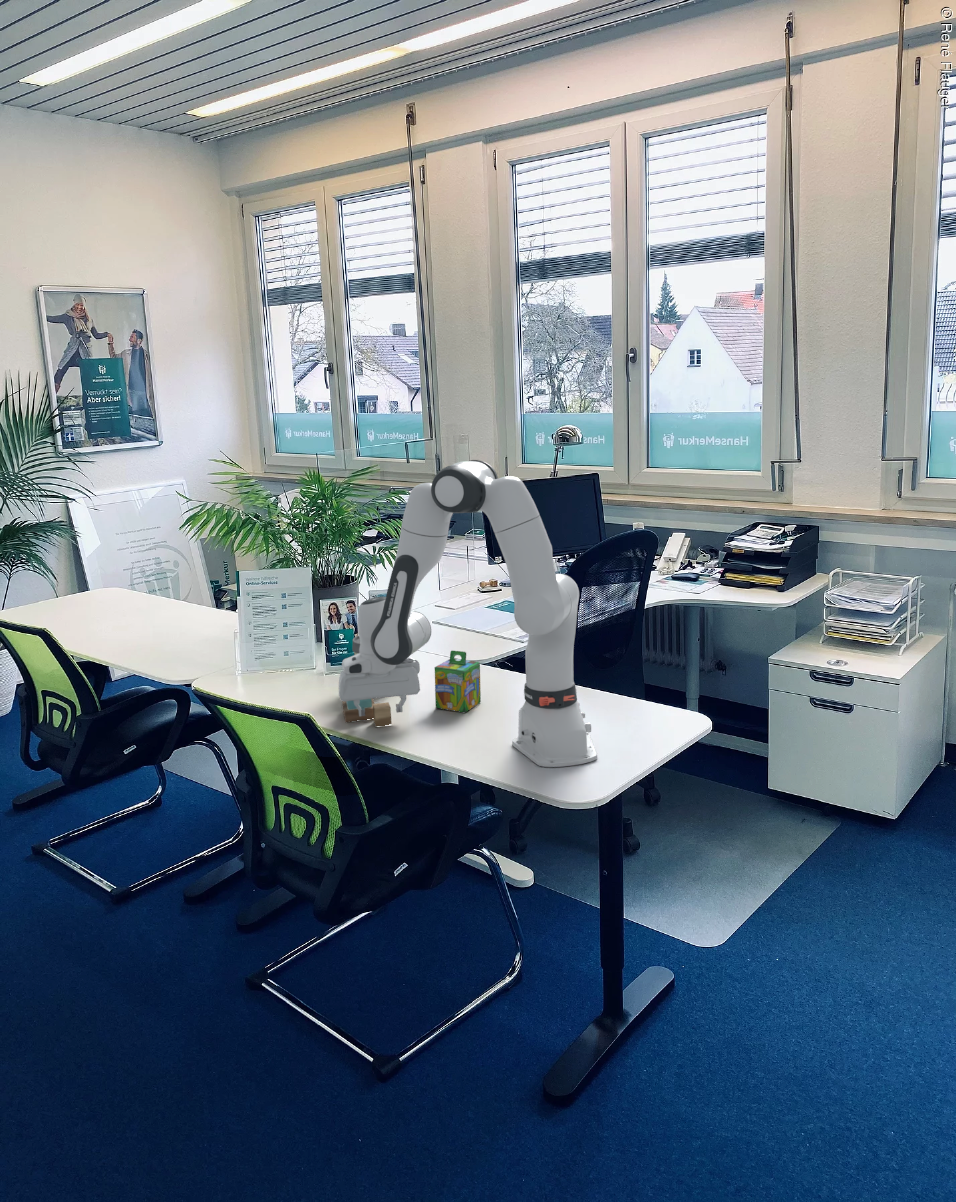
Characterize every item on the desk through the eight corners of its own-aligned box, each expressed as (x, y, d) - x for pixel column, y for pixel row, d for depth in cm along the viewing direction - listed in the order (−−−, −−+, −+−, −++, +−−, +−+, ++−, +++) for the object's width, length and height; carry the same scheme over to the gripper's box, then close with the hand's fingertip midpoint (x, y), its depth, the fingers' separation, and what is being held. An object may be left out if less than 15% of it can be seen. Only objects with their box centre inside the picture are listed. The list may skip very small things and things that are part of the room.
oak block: (391, 726, 241) (390, 707, 239) (375, 728, 240) (374, 709, 239) (389, 720, 244) (388, 702, 243) (374, 722, 244) (372, 703, 242)
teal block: (371, 706, 246) (370, 688, 244) (348, 709, 244) (347, 690, 243) (369, 699, 251) (368, 681, 250) (346, 701, 250) (345, 683, 249)
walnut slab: (377, 719, 246) (376, 707, 245) (345, 722, 244) (344, 711, 243) (373, 708, 253) (372, 697, 252) (343, 712, 252) (342, 701, 251)
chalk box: (434, 709, 251) (432, 655, 248) (452, 698, 259) (449, 645, 255) (465, 714, 247) (463, 658, 243) (482, 702, 255) (480, 649, 251)
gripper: (417, 653, 243) (419, 705, 247) (336, 661, 239) (339, 713, 242) (421, 660, 237) (423, 713, 241) (338, 668, 233) (341, 722, 236)
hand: (380, 713), depth 241 cm, fingers open, 8 cm apart
